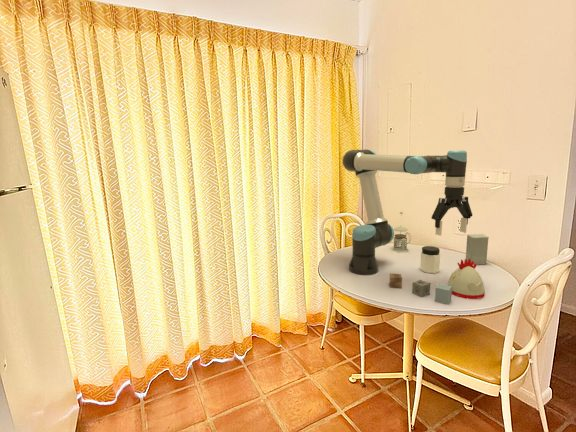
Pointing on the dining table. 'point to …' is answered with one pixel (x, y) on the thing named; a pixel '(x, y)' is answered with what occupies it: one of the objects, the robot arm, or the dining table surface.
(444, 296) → the slate block
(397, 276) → the walnut block
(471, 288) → the kitchen timer
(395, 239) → the french press
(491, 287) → the dining table surface
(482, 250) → the skincare box
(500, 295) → the dining table surface
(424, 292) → the dice cube
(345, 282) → the dining table surface
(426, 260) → the jar
